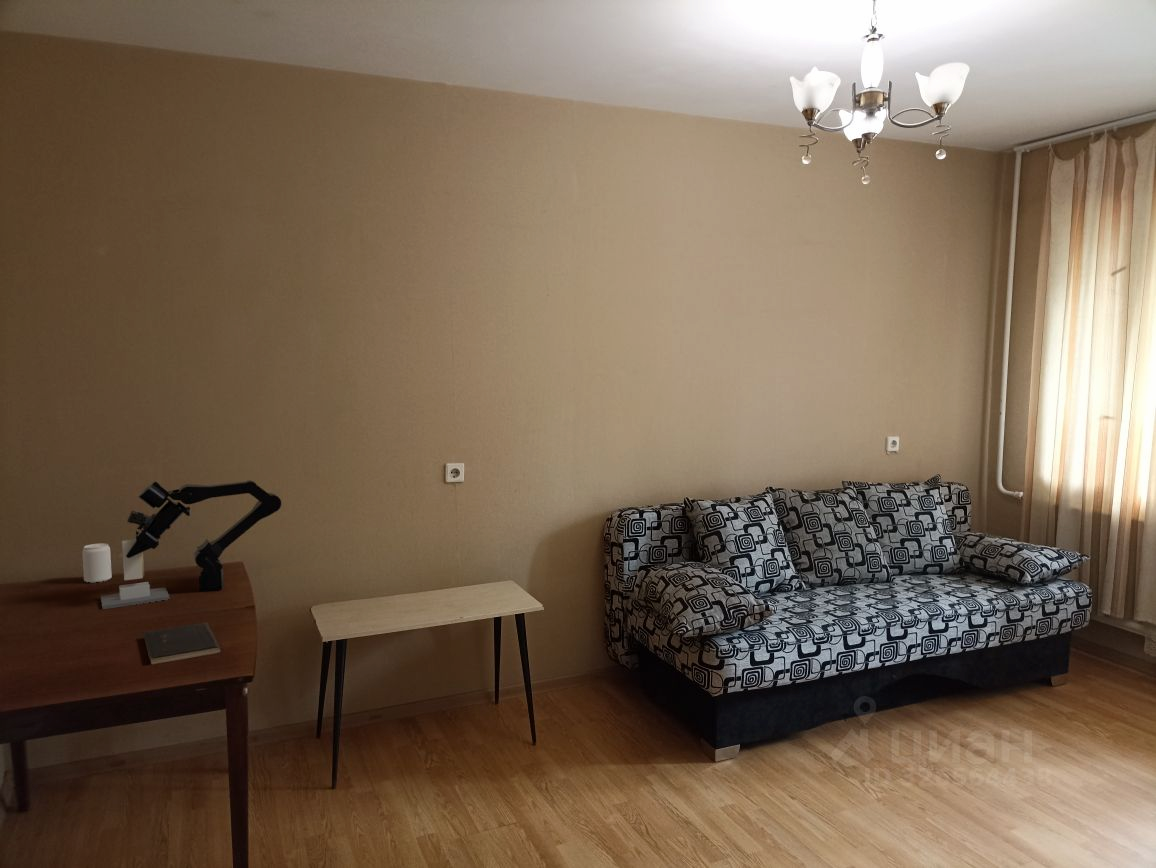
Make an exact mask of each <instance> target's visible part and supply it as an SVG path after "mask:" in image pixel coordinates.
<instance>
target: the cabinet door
mask: <svg viewBox="0 0 1156 868" xmlns="http://www.w3.org/2000/svg"><path fill="white" fill-rule="evenodd" d="M135 542H136V538H134V539H124V540H122V541H121V547H122V549H121V550H122V553H119V554H118V558H120V559H122V562H123V563H122V565H123V579H124V581H130V580H138V579H139V580H140V579H143V578H144V576H145V568H144V567H145V565H144V563H145V562H144V551H143V552H141V553H139V554H137V555H135V556H133V557H131V558H127V557H126V555H127V554H128V552H129V551H130V549H131V548H132V546H133V545H134V544H135Z"/></svg>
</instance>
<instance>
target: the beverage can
mask: <svg viewBox="0 0 1156 868" xmlns="http://www.w3.org/2000/svg"><path fill="white" fill-rule="evenodd" d="M81 553H82V567H83V568H82V569H83V581H84V582H86V583H88V582H90V583H89V584H97V583H96V582H99V583H103V581H104V582H107V581H108V580H111V578H112V576H113V574H112V562H111V560H112V558H111V557H112V556H111V546H109V543H102V542H101V543H93V544H86V545H84V546H83V549H82V552H81Z"/></svg>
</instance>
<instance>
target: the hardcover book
mask: <svg viewBox="0 0 1156 868" xmlns="http://www.w3.org/2000/svg"><path fill="white" fill-rule="evenodd" d="M142 636H143V639H144V640H143V641H144V643H145V647H146V652H147V654H148V658H149V661H150V664H151V665H156V664H162V663H167V662H173V661H180V660H184V659H189V658H190V659H191V658H196V657H202V656H209V655H214V654H219V653H220V654H221V653H222V647H221V645H220V643H219V641H218V639H217V637H216V636H215V633H214V631H213V630H212V628H211V626H210V624H209V623H208V622H207V621H206V622H201V623H195V624H188V625H181V626H176V627H175V626H174V627H168V628H161V629H154V630H149V631H148V630H147V631H143V632H142Z"/></svg>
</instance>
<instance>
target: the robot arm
mask: <svg viewBox="0 0 1156 868" xmlns="http://www.w3.org/2000/svg"><path fill="white" fill-rule="evenodd" d="M244 494H248V495H249V494H250V496H252V497H254V498H255V499H256V500H257V502H256V503H255V505H254V506H253V507H252V509H251V510H250V511H249V512H248V513H246V514H245V515H243V516H242V518H240V519H239V520H238V521H236V522H235V523H234V524H233V525H232V526H231V527H229V528H228V529H227V530H226V531H224V533H222V534H221V535H220V536H218V537H217V538H216V539H214V540H211V541H209V539H208V538H207V539H205V540H204V542H203V543H202V544H200V545H199V546H196V550H195V551H194V554H193V559H194V562H195V564H196V565H197V567H199V568H201V570H200V574H199V576H198V588H199V592H211V590H215V591H222V590H223V589H224V588H225V586H226V585H225V582H224V568H223V563H222V562H221V559H219V558H220V556H221V555H222V554H223V552H224V551H225V550H226V549H227V548H228V547H229V546H231V544H233V543H234V542H235V541H236V540H238V538H240V537H242V535H244V534H245V533H246V532H247V531H248V530H250V529H251V528H252V527H254V526H255V524H257V523H258V522H259V521H261V520H262V519H265V518H267V517H269V516H271V515H272V514H274V513H276V512H278V511H279V510H280V509H281V508H282V500H281V498H280V497H279V496H278V495H277V494H276V493H273V492H267V491H266V490H265V489H263V488H262V487H260V486H259V485H257V483H256V482H255V481H254V480H249V479H247V480H245V481H239V482H229V483H220V484H213V485H203V484H189V483H188V484H183V485H182V486H181V487H179V488H178V489H173V490H172V489H171V490H167V489H166V488H164V487H163V486H162V485H160V483H159V482H157V481H156V480H154V481H153V482H152V483H151V484H150V485H148V486H147V487H145V488H144V489H143V491H141V493H140V494H139V495H138V496H137V497H138V498H139V499H140V500H142V501H143V502H144V503H145V504H146V505H148V506H149V507H150V508H152V509H155V508H157V509H159V508H160V509H159V510H158V511H157V512H156V513H153V514H152V515H148V514H145V513H144V512H140V511H135V510H131V511H130V513H129V516H128V517H127V521H126V522H127V523H130V524H135V525H137V526H136V531H135V539H136V542H135V544H134V545H133V546H132V548H131V549H130V551H129V552H128V554H127V555H126V557H127V558H131V557H133V556H135V555H137V554H139V553H141V552H143V553H144V552H145V551H148V550H150V549H152V550H156V548H157V547H158V546H159V540H160V539H161V536H162V535H163V534H164V533H165V532H166V531H167V530H169V529H171V526H172V525H173V524H174V523H175V522H176V521H177V520H178V519H179V517H181V515H183V514H184V515H186V516H187V517H190V515H191V514H190V511H191V507H190V505H193V504H197V503H200V502H203V501H206V500H209V499H211V498H213V499H214V498H221V497H231V496H236V495H244ZM174 501H176V502H174ZM185 505H189V506H185ZM138 530H140V531H138ZM224 585H225V586H224ZM222 588H223V589H222Z"/></svg>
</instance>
